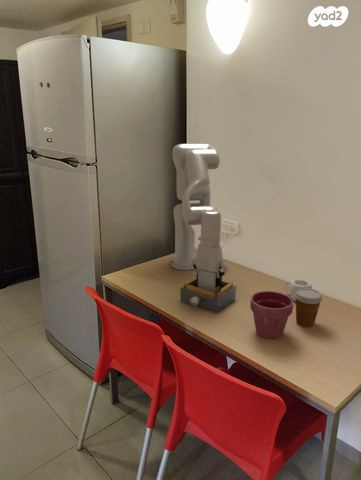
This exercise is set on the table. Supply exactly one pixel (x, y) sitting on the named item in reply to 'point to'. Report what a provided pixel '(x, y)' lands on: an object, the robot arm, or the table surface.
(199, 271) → the medicine box
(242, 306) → the table surface
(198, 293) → the box
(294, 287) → the mug
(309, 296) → the disposable coffee cup
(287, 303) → the plant pot
